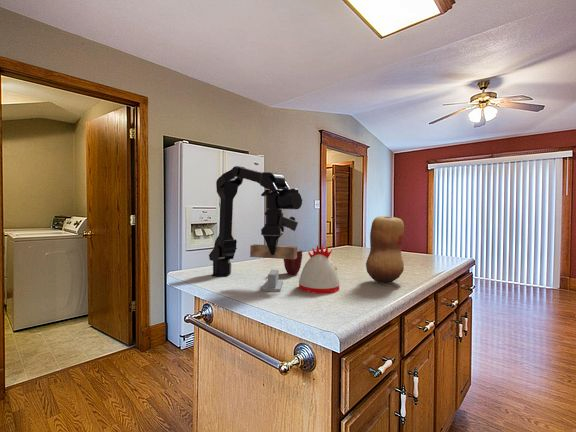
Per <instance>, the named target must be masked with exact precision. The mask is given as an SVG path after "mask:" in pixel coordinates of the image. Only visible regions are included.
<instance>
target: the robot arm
mask: <svg viewBox="0 0 576 432" xmlns="http://www.w3.org/2000/svg"><path fill="white" fill-rule="evenodd" d="M244 179H245V180H247V181H248V180H249V181H252V182H255V183H258V184H259V185H260V186H261V187H263V188H264V189H265V190H264V191H263V192H262V193H261V194H260V196H261V197H265V212H264V215H265V223H264V226H262V228H261V229H260V232H261V233H260V235H261V236H263V239H264V241H265V243H266V245H267V246H268V248H269V251H270V253H271V255H274V254H275V249H276V245H277V246H278V244H279V240H280V239H279V238H281V237H282V235H283V234H284V232H285V228H287V229H290V230H291V231H292V232H293V231H294V232H295V231H296V229H297V227H298V224H299V221H298V220H296V217H294V216H292V215H291V216H290V217H287V216H285V215H284V212H283V210H299V209H301V207H302V205H303V199H302V195H301V194H300V192H299V188H290V186H289V184H288V183H287V182H286V178H285V176H284V174H282V173H277V172H275V173H274V172H268V171H266V172H265V171H263V172H262V171H258V170H254V169H249V168H246V167H244V166H241V165H239V166H237V165H236V166H232V168H231V169H230V170H228V171H226V172H224V173H222V174H221V175H220V176H219V177H218V178H217V179H216V182H215V183H216V184H215V185H216V186H215V187H216V188H215V189H216V193H217V194H218V197H219V200H220V203H219V205H220V206H219V207H220V208H219V229H218V231H219V232H218V236H217V237H216V238H215V241H214V245H213V249H212V250H211V251H210V252H209V255H208V257H209V258H208V259H209V261H212V273H211V277H228V276H229V275H231V273H232V262H231V260H234V257H235V254H236V250H238V248H237V242H238V241H237V239H235V238H234V237H233V233H232V232H233V215H234V214H233V209H234V208H233V207H234V199H235V197H236V195H237V194H238V189H239V187H240V186H241V185H242V184H243V181H244Z"/></svg>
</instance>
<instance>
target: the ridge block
mask: <svg viewBox="0 0 576 432" xmlns="http://www.w3.org/2000/svg"><path fill="white" fill-rule="evenodd" d="M283 284H284V281H283V280H279V269H270V271H269V273H268V275H267V280H266V281H265V283H264V285H263V287H262V289H261V291H262V292H281V290H282V286H283Z"/></svg>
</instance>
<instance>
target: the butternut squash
mask: <svg viewBox="0 0 576 432" xmlns="http://www.w3.org/2000/svg"><path fill="white" fill-rule="evenodd" d="M404 238H405V225H404V221H403V220H402V219H401V218H398V217H394V216H393V217H392V216H389V215H388V216H387V215H381V216H379V215H378V216H376V217H375V218H374V219H373V220H372V222H371V227H370V232H369V242H370V243H369V245H370V251H369V254H368V257H367V259H366V262H365V269H366V273H367V274H368V275H369V277H370V278H371V279H372V280H373V281H375V282H376V283H379V284H388V283H389V284H390V283H393V282H394V281H396V280H398V279H399V278H400V276H402V274H403V272H404V268H405V266H404V263H405V262H404V259H403V256H402V255H403V254H402V247H403V242H404Z"/></svg>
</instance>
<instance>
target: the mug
mask: <svg viewBox="0 0 576 432" xmlns="http://www.w3.org/2000/svg"><path fill="white" fill-rule="evenodd" d="M302 260H303V249H299V248H297V258H296V259H283V264H284V265H283V266H284V269H285V271H286V273H287V275H290V276H296V275H298V274H299V272H300V269H301V266H302Z"/></svg>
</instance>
